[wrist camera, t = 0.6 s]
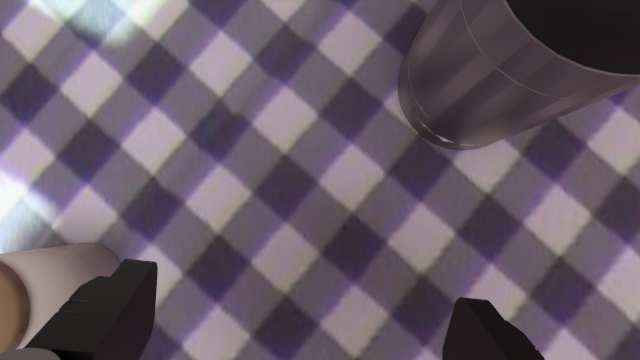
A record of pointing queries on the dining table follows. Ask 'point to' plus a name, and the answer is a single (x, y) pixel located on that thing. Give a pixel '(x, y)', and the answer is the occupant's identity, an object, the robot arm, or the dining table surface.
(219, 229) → the dining table surface
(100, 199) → the dining table surface
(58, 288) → the spice jar
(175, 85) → the dining table surface
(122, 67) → the dining table surface
